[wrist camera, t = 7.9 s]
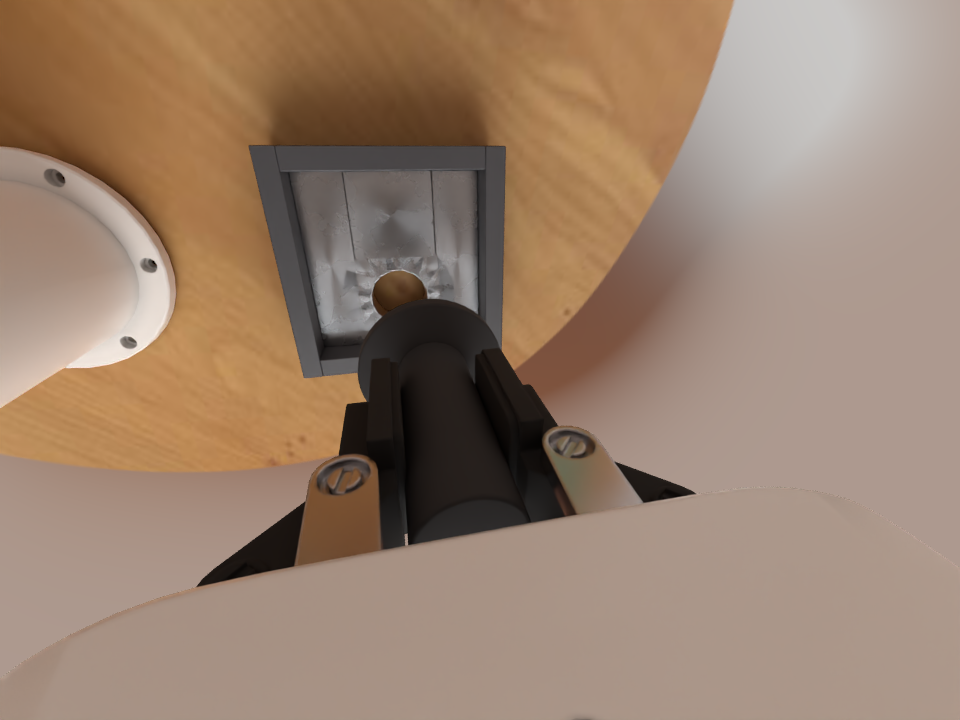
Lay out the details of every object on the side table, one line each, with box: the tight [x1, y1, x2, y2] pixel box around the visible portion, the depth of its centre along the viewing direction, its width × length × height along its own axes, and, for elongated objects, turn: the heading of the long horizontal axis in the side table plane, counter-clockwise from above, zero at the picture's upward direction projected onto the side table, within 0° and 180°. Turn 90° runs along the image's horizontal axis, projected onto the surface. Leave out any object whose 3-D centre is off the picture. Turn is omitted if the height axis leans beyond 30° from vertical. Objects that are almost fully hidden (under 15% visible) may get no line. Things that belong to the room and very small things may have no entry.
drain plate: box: [288, 170, 479, 347], centre depth 27 cm, size 11×12×2 cm
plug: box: [358, 299, 531, 545], centre depth 12 cm, size 5×5×10 cm
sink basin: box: [249, 145, 506, 378], centre depth 26 cm, size 13×13×4 cm
